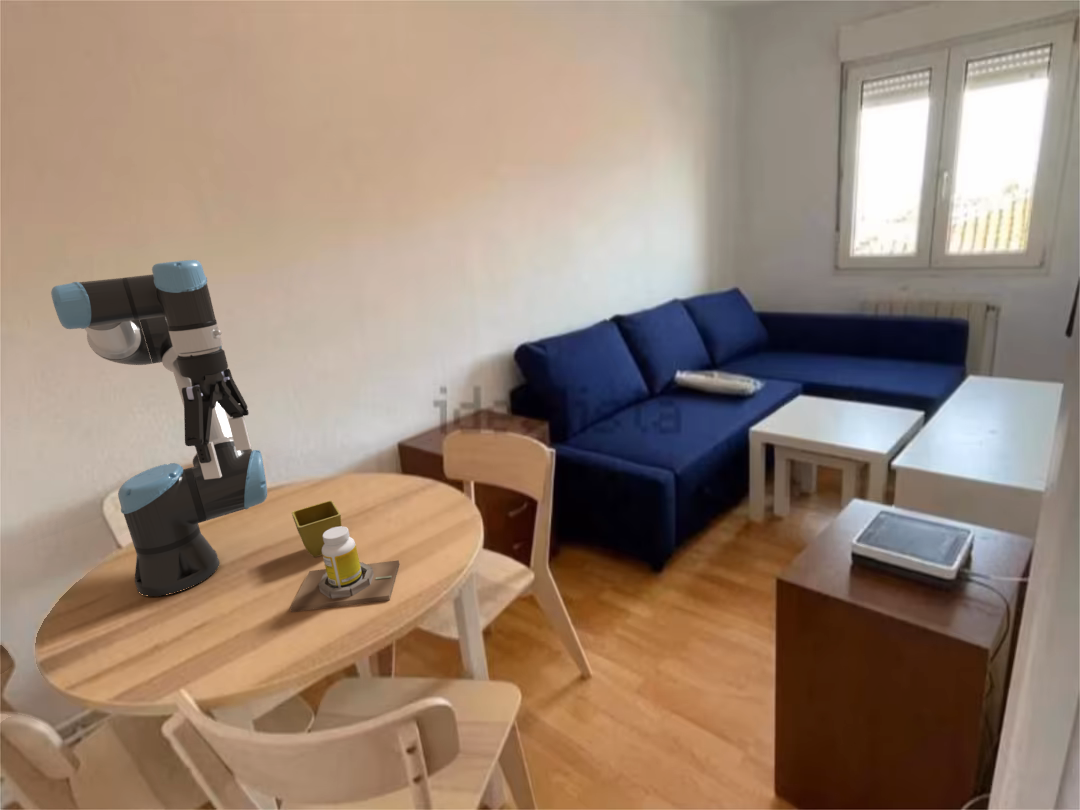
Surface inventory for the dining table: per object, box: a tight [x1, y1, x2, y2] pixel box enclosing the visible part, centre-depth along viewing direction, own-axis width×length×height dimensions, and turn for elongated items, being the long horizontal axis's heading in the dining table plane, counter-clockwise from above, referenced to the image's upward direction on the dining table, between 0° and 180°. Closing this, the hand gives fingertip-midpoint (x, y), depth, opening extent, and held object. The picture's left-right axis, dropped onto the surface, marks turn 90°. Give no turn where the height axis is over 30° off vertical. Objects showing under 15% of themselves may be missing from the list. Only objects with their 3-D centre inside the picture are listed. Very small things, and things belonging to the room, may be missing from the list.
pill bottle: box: [321, 526, 362, 589], centre depth 113 cm, size 6×6×11 cm
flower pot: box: [291, 500, 342, 558], centre depth 129 cm, size 9×9×9 cm
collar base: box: [290, 559, 400, 613], centre depth 115 cm, size 18×12×2 cm, turn 94°
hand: (229, 463), depth 110 cm, fingers open, 13 cm apart
